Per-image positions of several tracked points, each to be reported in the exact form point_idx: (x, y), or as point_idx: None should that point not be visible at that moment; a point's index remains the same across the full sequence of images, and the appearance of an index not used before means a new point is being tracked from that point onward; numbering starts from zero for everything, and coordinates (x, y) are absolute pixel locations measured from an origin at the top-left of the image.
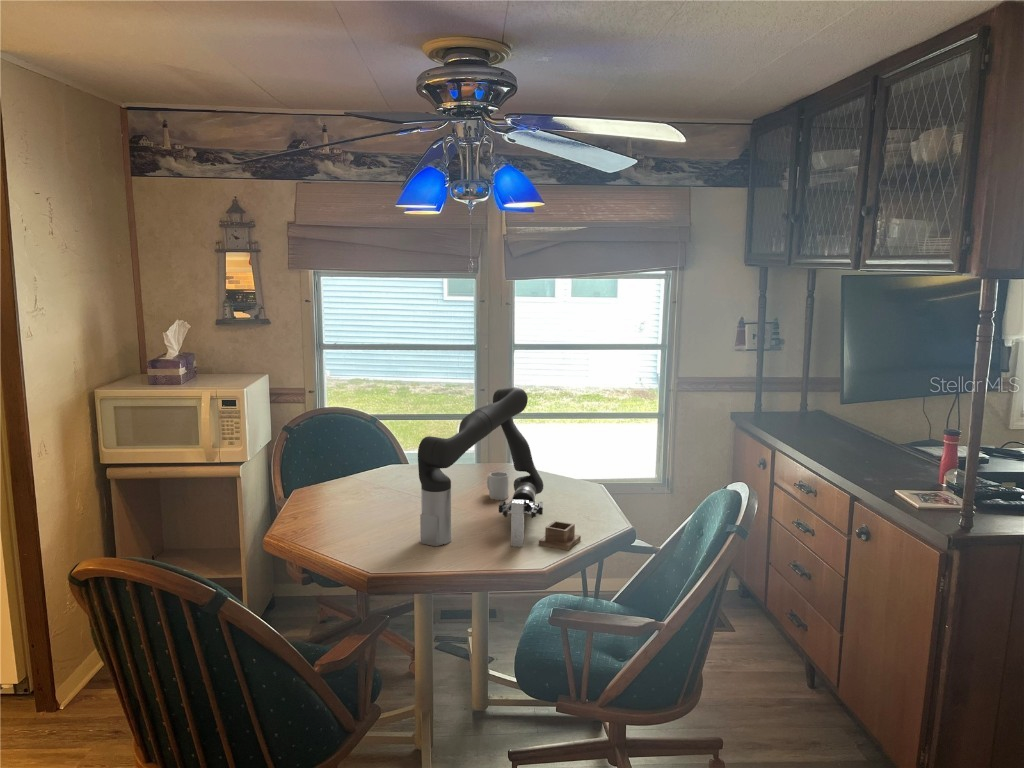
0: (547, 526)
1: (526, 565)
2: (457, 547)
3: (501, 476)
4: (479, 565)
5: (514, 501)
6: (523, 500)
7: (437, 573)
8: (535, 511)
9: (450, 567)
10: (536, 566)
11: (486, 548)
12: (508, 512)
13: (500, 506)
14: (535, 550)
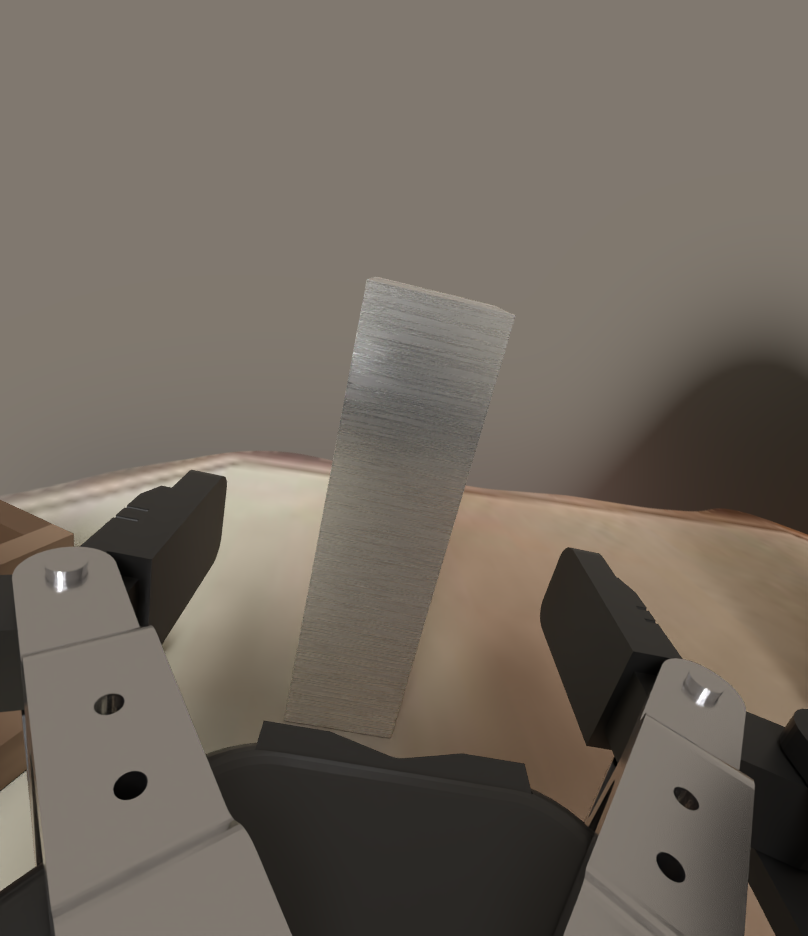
0: (32, 544)
1: (303, 487)
2: (722, 675)
3: None
4: (498, 515)
5: (473, 301)
6: (375, 280)
7: (605, 502)
8: (133, 511)
9: (593, 521)
10: (260, 476)
11: (548, 648)
12: (600, 785)
13: (798, 722)
14: (215, 593)
